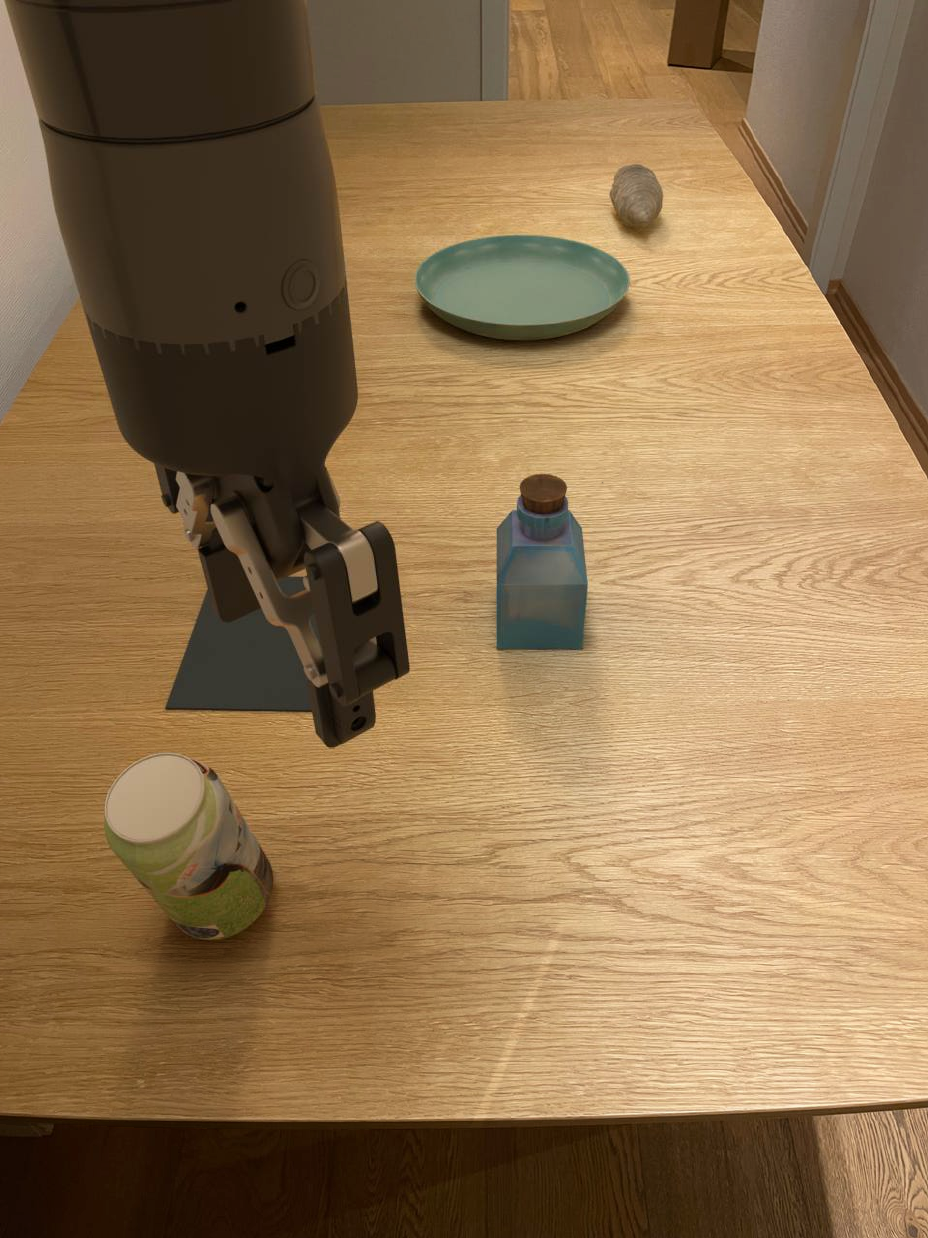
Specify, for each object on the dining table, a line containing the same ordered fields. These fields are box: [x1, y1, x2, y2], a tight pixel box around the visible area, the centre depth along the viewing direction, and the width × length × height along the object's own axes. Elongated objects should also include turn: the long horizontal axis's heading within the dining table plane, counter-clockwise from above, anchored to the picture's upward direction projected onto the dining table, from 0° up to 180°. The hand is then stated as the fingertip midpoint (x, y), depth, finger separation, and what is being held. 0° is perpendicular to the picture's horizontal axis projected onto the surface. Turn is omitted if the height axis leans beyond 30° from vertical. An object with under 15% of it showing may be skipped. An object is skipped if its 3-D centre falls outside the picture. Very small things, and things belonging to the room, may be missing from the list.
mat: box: [164, 575, 321, 713], centre depth 72 cm, size 14×14×1 cm
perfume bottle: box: [496, 473, 589, 650], centre depth 68 cm, size 6×6×12 cm
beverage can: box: [103, 752, 274, 941], centre depth 51 cm, size 6×7×12 cm
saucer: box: [414, 234, 631, 341], centre depth 111 cm, size 24×24×3 cm
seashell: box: [608, 163, 664, 229], centre depth 126 cm, size 6×14×8 cm, turn 3°
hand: (291, 668), depth 39 cm, fingers open, 8 cm apart
